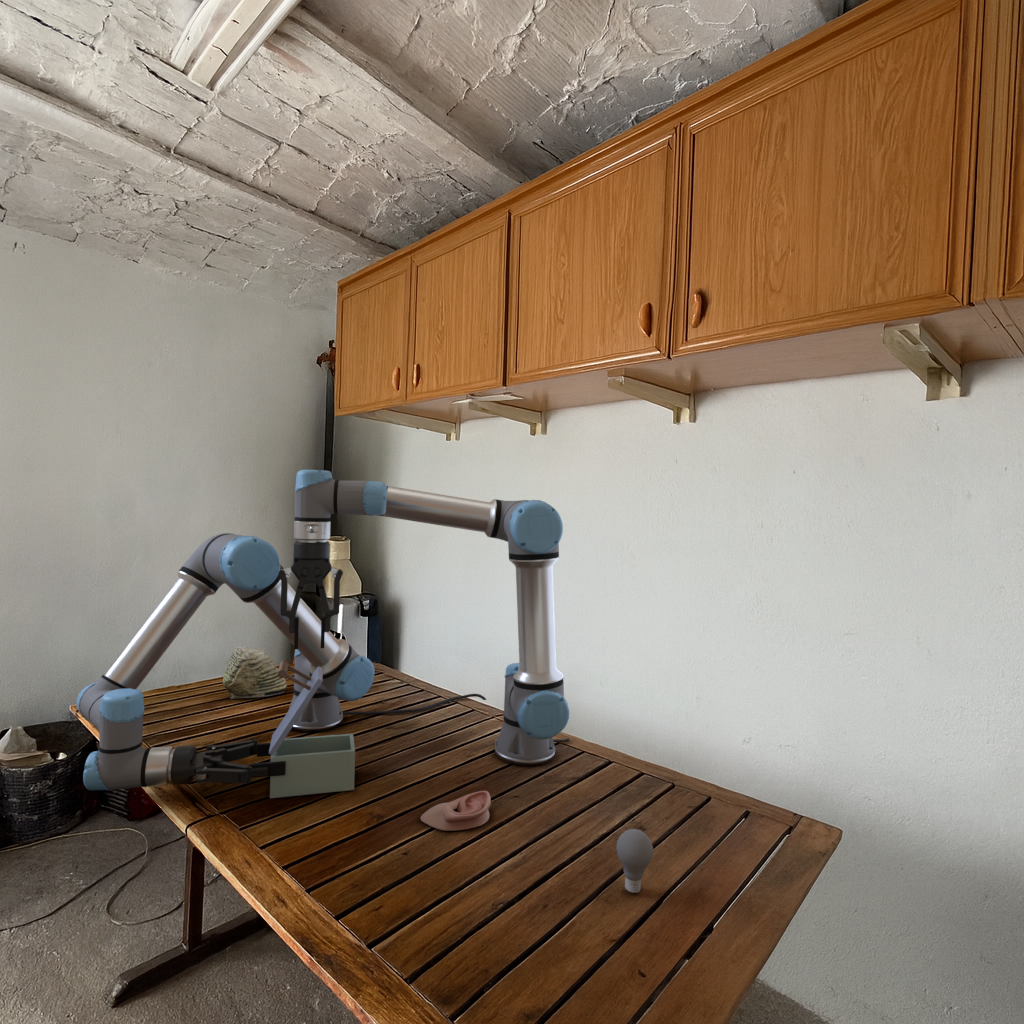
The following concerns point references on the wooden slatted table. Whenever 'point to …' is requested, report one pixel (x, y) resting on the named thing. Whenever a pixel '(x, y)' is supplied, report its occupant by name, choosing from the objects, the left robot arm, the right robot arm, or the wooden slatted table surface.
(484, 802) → the anatomical model
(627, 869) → the light bulb
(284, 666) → the lid
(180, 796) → the wooden slatted table surface
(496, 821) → the wooden slatted table surface
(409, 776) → the wooden slatted table surface
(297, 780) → the chest
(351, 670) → the left robot arm
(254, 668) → the fossil
